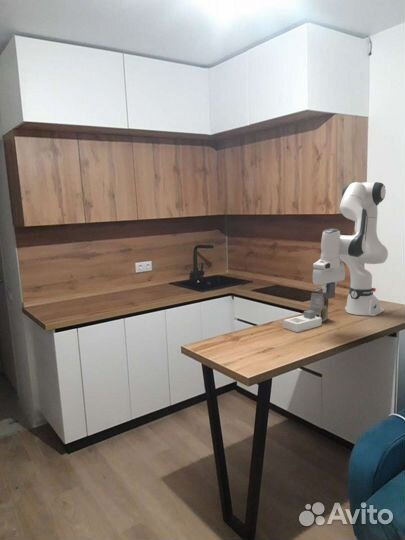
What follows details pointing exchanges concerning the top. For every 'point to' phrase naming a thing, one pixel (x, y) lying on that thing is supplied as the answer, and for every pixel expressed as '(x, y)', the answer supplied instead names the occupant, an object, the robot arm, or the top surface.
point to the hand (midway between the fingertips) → (328, 291)
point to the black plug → (330, 290)
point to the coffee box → (319, 304)
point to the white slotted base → (302, 322)
